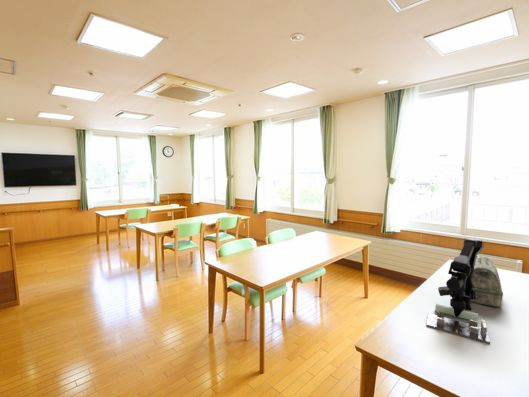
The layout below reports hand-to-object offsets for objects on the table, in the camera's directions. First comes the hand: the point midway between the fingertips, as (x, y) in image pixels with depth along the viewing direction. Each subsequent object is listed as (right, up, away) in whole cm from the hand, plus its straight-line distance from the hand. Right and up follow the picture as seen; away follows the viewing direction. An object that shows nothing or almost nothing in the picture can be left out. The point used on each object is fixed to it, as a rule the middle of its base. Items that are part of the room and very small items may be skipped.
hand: (455, 313), depth 142 cm
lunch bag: (+30, +1, +21) cm, 36 cm away
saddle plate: (-7, -3, -11) cm, 13 cm away
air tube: (0, 0, 0) cm, 1 cm away
